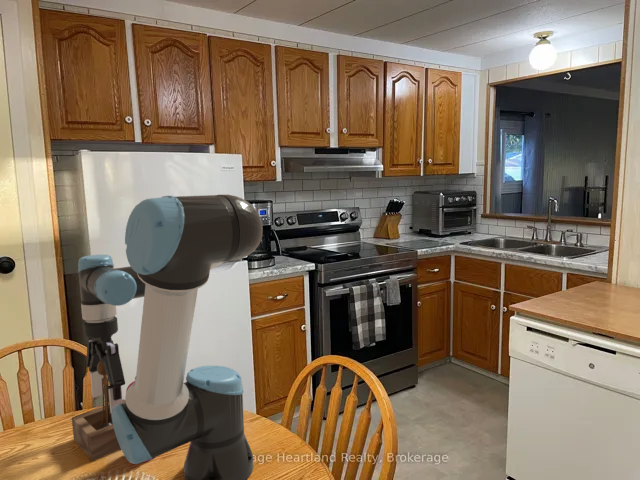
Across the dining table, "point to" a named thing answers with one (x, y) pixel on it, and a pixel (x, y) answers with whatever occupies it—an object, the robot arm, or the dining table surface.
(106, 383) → the wooden tabletop sculpture
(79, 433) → the box
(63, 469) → the dining table surface
